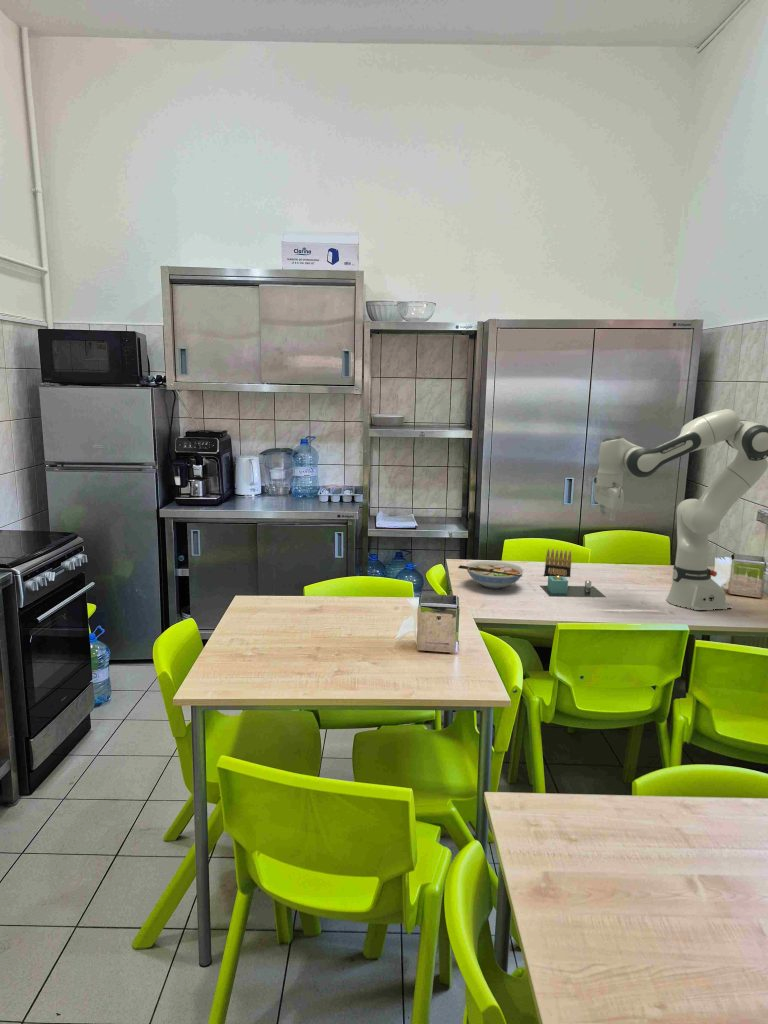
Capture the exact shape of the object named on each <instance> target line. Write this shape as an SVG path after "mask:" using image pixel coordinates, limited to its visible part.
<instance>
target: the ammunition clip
mask: <svg viewBox="0 0 768 1024" xmlns="http://www.w3.org/2000/svg"><path fill="white" fill-rule="evenodd" d="M544 564H545V565H544V573H543V574H544V575H543V577H546V576H561V577H564V578H570V577H571V570H572V551H571V550H569V552H567V550H565V551H564V554H563V549H560V551H559V549H556V551H555V549H554V548H552V549H551V552H550V548H548V549H547V551H546V556H545V563H544Z"/></svg>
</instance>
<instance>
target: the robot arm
mask: <svg viewBox="0 0 768 1024" xmlns="http://www.w3.org/2000/svg"><path fill="white" fill-rule="evenodd" d="M723 441H725V443H726V444H727V445H728V446H729V447H731V448H733V449H735V450H737V453H736V456H735V458H734V459H733V461H731V462H730V463H729V464H728V465H727V466H726V467H725V468H724V469H723V470H722V471H721V472H720V473H718V474H717V475H716V476H715V477H714V478H713V479H712V480H711V481H710V482H709V484H708V486H707V488H706V489H705V491H704V492H703V494H702V495H700V497H699V498H688V499H684V500H682V501H680V502H679V504H678V505H677V507H676V537H677V538H676V540H677V541H676V542H677V545H676V546H677V547H676V554H675V562H674V563H675V564H674V565H673V568H672V569H673V570H672V583H671V584H670V585H671V586H670V589H669V593H668V595H667V597H666V602H668V603H670V604H671V605H674V606H676V605H677V606H676V607H680V606H681V608H685V607H687V608H686V609H690V608H691V609H690V610H693V609H694V610H693V611H696V610H707V611H716V610H715V609H723V610H727V609H726V608H731V607H732V603H730V602H728V600H726V599H727V598H726V592H725V589H724V588H723V587H721V585H719V584H718V583H717V582H716V581H715V580H714V579H713V578H712V577H714V578H715V577H717V571H715V570H713V569H712V570H711V569H710V568H708V566H709V559H710V558H709V556H710V552H711V551H710V548H711V547H710V544H709V543H710V542H709V535H710V534H711V535H712V534H713V533H715V532H716V531H717V530H718V528H719V527H720V524H721V521H722V520H723V519H724V518H725V516H726V515H727V514H728V512H729V511H730V509H732V507H733V505H735V504H736V503H737V502H738V500H739V499H741V498H742V497H743V496H744V495H745V494H746V493H747V492H748V491H749V490H750V489H751V488H752V487H753V486H755V484H756V483H757V482H758V481H759V480H760V479H761V477H762V476H763V475H764V474H765V473H766V472H767V469H768V460H767V458H768V426H766V425H763V424H761V423H758V422H755V421H748V420H747V419H746V420H744V419H740V417H739V414H737V413H736V411H734V410H733V409H730V408H726V409H721V410H720V409H719V410H716V411H713V412H709V413H706V414H704V415H701V416H697V417H696V418H694V419H692V420H690V421H689V422H687V423H685V424H684V425H683V426H682V428H681V429H680V434H679V435H678V436H677V437H676V438H674V439H672V440H669V441H667V442H665V443H663V444H661V445H658V446H656V447H653V448H651V447H650V448H645V447H642V446H639V445H637V444H634V443H632V442H630V441H629V440H627V439H625V438H624V436H623V437H622V436H610V437H607V438H604V439H603V440H602V441H601V443H600V447H599V452H598V466H599V467H598V470H597V475H596V476H594V477H593V480H592V481H593V483H594V485H593V498H594V502H596V503H598V508H599V515H600V516H601V517H605V516H606V515H607V511H606V508H608V509H610V511H609V512H610V515H608V519H609V521H610V522H615V521H616V516H618V512H619V511H623V510H624V503H625V502H624V501H625V498H624V497H625V495H624V490H623V489H622V488H621V487H623V482H624V481H623V478H624V472H626V471H628V472H630V473H631V474H632V475H634V476H635V477H637V478H647V477H649V476H652V475H653V474H654V473H655V472H657V471H658V470H659V469H660V468H661V467H662V466H664V464H667V463H669V462H671V461H673V460H676V459H679V458H680V457H682V456H684V455H687V454H689V453H692V452H695V451H700V450H703V449H706V448H709V447H711V446H714V445H716V444H718V443H721V442H723ZM711 576H712V577H711ZM713 609H714V610H713ZM731 609H732V608H731Z"/></svg>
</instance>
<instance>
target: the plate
mask: <svg viewBox="0 0 768 1024" xmlns="http://www.w3.org/2000/svg"><path fill="white" fill-rule="evenodd" d="M555 580H561V577H560V576H556V577H555ZM539 587H540V588H541V590H542V591H544V592H545V594H546V595H547V596H548V597H553V598H554V597H555V598H558V597H559V598H561V597H563V598H607V596H606V595H605V594H603V592H602V591H600V590H598V588H597V587H595V586H594V585H592V581H591V580H585V581H584V585H568V589H567V594H564V593H551V592H550V591H549V590H548V589H547V585H539Z"/></svg>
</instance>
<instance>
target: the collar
mask: <svg viewBox="0 0 768 1024" xmlns="http://www.w3.org/2000/svg"><path fill="white" fill-rule="evenodd" d="M555 577H556V576H548V577H547V585H546V586H547V589H548V590H549V591H550V592H551V593H564V594H567V589H568V586H569V580H568V579H567V578H566V577H561V576H560V577H561V580H555Z"/></svg>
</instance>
